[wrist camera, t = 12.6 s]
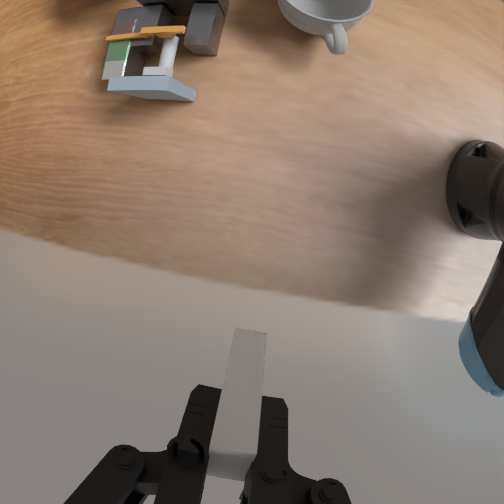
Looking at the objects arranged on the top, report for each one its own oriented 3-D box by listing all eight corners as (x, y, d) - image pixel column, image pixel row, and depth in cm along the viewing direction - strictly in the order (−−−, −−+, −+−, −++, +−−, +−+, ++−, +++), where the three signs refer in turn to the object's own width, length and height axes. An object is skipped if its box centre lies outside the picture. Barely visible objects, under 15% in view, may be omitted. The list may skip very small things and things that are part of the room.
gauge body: (229, 2, 27) (216, -29, 19) (210, 87, 32) (190, 72, 24) (139, 5, 28) (110, -17, 19) (119, 84, 33) (83, 76, 24)
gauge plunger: (206, 45, 30) (183, 18, 21) (195, 101, 33) (167, 90, 24) (156, 45, 30) (122, 23, 21) (146, 99, 33) (107, 90, 24)
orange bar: (189, 32, 25) (184, 25, 23) (188, 37, 26) (182, 31, 23) (110, 37, 25) (100, 32, 23) (108, 42, 26) (99, 38, 24)
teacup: (277, -21, 25) (277, -51, 18) (355, -12, 25) (370, -38, 17) (275, 60, 31) (275, 41, 23) (359, 70, 30) (379, 55, 23)
